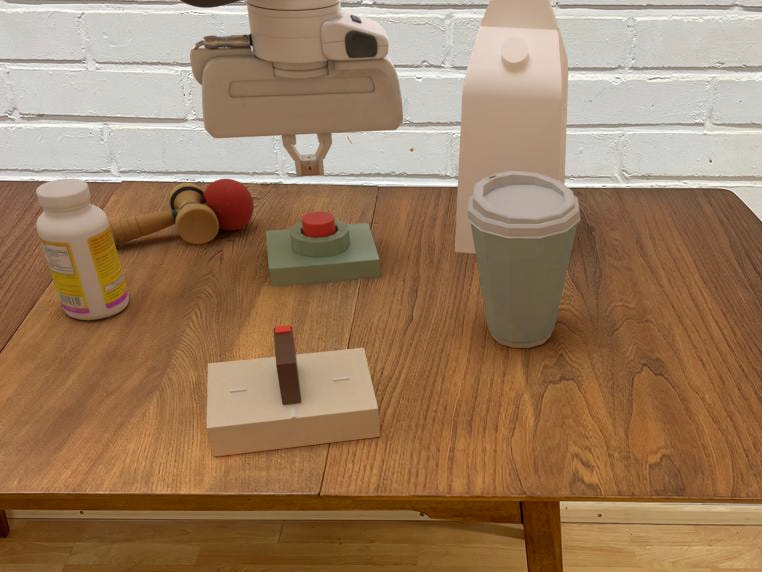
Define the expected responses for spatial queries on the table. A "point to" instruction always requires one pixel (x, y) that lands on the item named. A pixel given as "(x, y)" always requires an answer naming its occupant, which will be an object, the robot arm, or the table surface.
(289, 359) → the brown box red tab
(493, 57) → the milk
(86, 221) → the supplement bottle
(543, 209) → the disposable coffee cup
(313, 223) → the button
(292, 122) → the robot arm
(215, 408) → the panel
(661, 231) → the table surface
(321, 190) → the table surface
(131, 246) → the table surface
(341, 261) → the button box
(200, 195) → the kendama
